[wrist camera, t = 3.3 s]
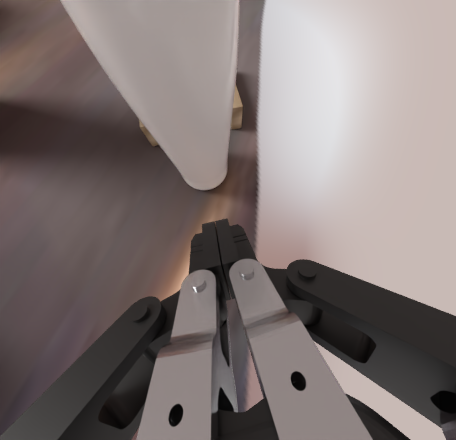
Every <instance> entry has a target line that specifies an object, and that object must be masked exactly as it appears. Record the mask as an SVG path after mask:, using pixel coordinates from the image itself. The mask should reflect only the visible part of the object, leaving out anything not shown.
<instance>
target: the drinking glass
mask: <svg viewBox="0 0 456 440" xmlns="http://www.w3.org/2000/svg"><path fill="white" fill-rule="evenodd" d="M60 2H61V4H62V5H63V7H64V8H65V10H66V12H67V13H68V15H69V17H70V18H71V20H72V21H73V23H74V25H75V26H76V28H77V29H78V31H79V33H80V34H81V36H82V37H83V39H84V40H85V42H86V44H87V45H88V47H89V48H90V50H91V51H92V53H93V54H94V56H95V57H96V59H97V60H98V62H99V64H100V65H101V67H102V68H103V70H104V71H105V73H106V74H107V76H108V77H109V78H110V80H111V81H112V83H113V84H114V86H115V87H116V89H117V90H118V91H119V93H120V94H121V96H122V97H123V98H124V100H125V101H126V103H127V104H128V105H129V107H130V108H131V109H132V111H133V112H134V113H135V115H136V116H137V117H138V119H139V120H140V121H141V122H142V124H143V125H144V126H145V128H146V129H147V130H148V131H149V133H150V134H151V135H152V137H153V138H154V139H155V141H156V142H157V143H158V144H159V146H160V147H161V148H162V150H163V151H164V152H165V154H166V155H167V156H168V157H169V159H170V160H171V161H172V163H173V164H174V165H175V167H176V168H177V169H178V171H179V172H180V174H181V175H182V177H183V179H184V180H185V182H186V183H187V184H188V185H190V186H191V187H193V188H195V189H198V190H210V189H213V188H215V187H217V186H218V185H220V184H221V183H222V182H223V180H224V179H225V177H226V174H227V169H228V163H227V160H228V149H229V139H230V130H231V121H232V112H233V103H234V94H235V84H236V73H237V60H238V41H239V5H240V0H60Z"/></svg>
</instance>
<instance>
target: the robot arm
mask: <svg viewBox="0 0 456 440" xmlns="http://www.w3.org/2000/svg"><path fill="white" fill-rule="evenodd" d="M215 222H216V225H215ZM215 222H210V223H206V224H202V233H200V234H195V236H194V237H193V239H192V241H191V252H190V253H191V254H190V266H189V275H188V276H187V277H186V278H185V280H184V281H183V283H182V286H181V289H180V290H179V291H178V292H177V293H175V294H173V295H172V296H170V297H168V298H166V299H164V300H163V301H161V302H160V301H159V299H158V298H156V297H145V298H142V299H140V300H139V301H137V302H135V303H134V304H133V305H132V306H131V307H130V308H129V309H128V310H127V311H126V312H125V313H124V314H123V315H122V316H121V317H120V318H119V319H118V320H116V321H115V322H114V323H113V324H112V325H111V326H110V327H109V328H108V329H107V330H106V331H105V332H104V333H103V334H102V335H101V336H100V337H99V338H98V339H97V340H96V341H95V342H94V343H93V344H92V345H91V346H90V347H89V348H88V349H87V350H86V351H85V352H84V353H83V354H82V355H81V356H80V357H79V358H78V359H77V360H76V361H75V362H74V363H73V364H72V365H71V366H70V367H69V368H68V369H67V370H66V371H65V372H64V373H63V374H62V375H61V376H60V377H59V378H58V379H57V380H56V381H55V382H54V383H53V384H52V385H51V386H50V387H49V388H48V389H47V390H46V391H45V392H44V393H43V394H42V395H41V396H40V397H39V398H38V399H37V400H36V401H35V402H34V403H33V404H32V405H31V406H30V407H29V408H28V409H27V410H26V411H25V412H24V413H23V414H22V415H21V416H20V417H19V418H18V419H17V420H16V421H15V422H14V423H13V424H12V425H11V426H10V427H9V428H8V429H7V430H6V431H5V432H4V433H3V434H2V435H1V436H0V440H131V439H132V437H133V436H134V434H135V433H136V431H137V429H138V428H139V431H138V435H137V439H136V440H410V439H409V438H408V437H406V436H405V435H404V434H403V433H402V432H400V431H399V430H398V429H397V428H395V427H393V425H392V424H390V423H389V422H388V421H386V420H385V419H384V418H383V417H382V416H380V415H379V414H378V413H376V412H375V411H374V410H373V409H371V408H369V407H368V406H367V405H365V404H364V403H362V402H360V401H359V400H357V399H355V398H353V397H351V396H350V395H348V394H345V393H344V391H343V390H342V388H341V386H340V385H339V383H338V381H337V380H336V378H335V376H334V375H333V373H332V371H331V370H330V368H329V366H328V365H327V363H326V361H325V360H324V358H323V356H322V355H321V353H320V351H319V350H318V348H317V346H316V345H315V343H314V342H313V341H315V342H316V343H318V344H319V345H321V346H322V347H324V348H325V349H326V350H328V351H329V352H331V353H332V354H334V355H335V356H337V357H338V358H340V359H341V360H343V361H344V362H345V363H347V364H349V365H350V366H351V367H353V368H354V369H356V370H357V371H359V372H360V373H362V374H363V375H364V376H366V377H367V378H369V379H370V380H372V381H373V382H375V383H376V384H378V385H379V386H381V387H382V388H384V389H385V390H386V391H388V392H389V393H391V394H392V395H394V396H395V397H397V398H398V399H400V400H401V401H402V402H404V403H405V404H407V405H408V406H410V407H411V408H413V409H414V410H416V411H417V412H419V413H420V414H421V415H423V416H425V417H426V418H427V419H429V420H430V421H432V422H433V423H435V424H436V425H438V426H439V427H440V428H442V430H443V433H444V435H445V438H446V440H456V316H454V315H451V314H449V313H446V312H443V311H441V310H438V309H436V308H433V307H431V306H428V305H425V304H423V303H420V302H417V301H415V300H412V299H410V298H407V297H405V296H402V295H399V294H397V293H394V292H392V291H389V290H387V289H384V288H381V287H379V286H376V285H373V284H371V283H368V282H366V281H363V280H361V279H358V278H355V277H353V276H350V275H348V274H345V273H342V272H340V271H337V270H334V269H332V268H329V267H327V266H324V265H321V264H319V263H316V262H314V261H311V260H296V261H294V262H292V263H290V264H289V266H288V267H287V269H272V268H268V267H265V266H263V265H262V264H260V263H259V262H258V261H257V259H256V257H255V254H254V252H253V250H252V247H251V245H250V243H249V240H248V238H247V236H246V233H245V231H244V229H243V228H242V227H241V226H239V225H238V224H237V225H233V226H229V223H228V219H222V220H218V221H215ZM228 286H229V287H228ZM229 290H230V293H231V297H232V299H234V298H235V299H236V303H237V307H238V311H239V314H240V318H241V321H242V325H243V328H244V332H245V335H246V338H247V342H248V345H249V349H250V352H251V356H252V359H253V363H254V366H255V370H256V373H257V377H258V380H259V384H260V387H261V391H262V394H263V398H264V399H262V400H261V401H260V402H258V403H257V404H256V405H254V406H253V407H252V408H250V409H249V410H247V411H246V412H238V410H237V398H236V389H235V382H234V377H233V371H232V360H231V347H230V334H229V321H228V315H227V314H228V311H227V304H226V300H230V299H231V298H230V293H229ZM139 426H140V427H139Z"/></svg>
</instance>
